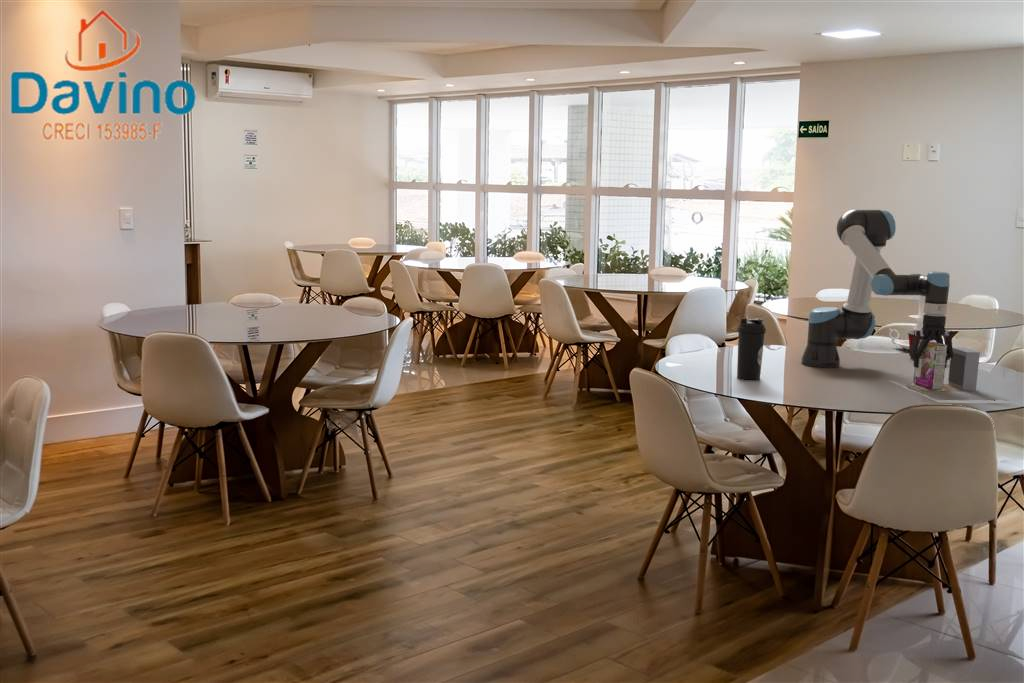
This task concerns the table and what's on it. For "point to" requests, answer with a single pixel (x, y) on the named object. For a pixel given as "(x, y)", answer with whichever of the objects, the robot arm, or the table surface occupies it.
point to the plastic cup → (911, 336)
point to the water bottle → (750, 349)
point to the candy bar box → (932, 366)
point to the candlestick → (918, 326)
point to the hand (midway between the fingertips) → (929, 376)
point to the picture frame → (945, 388)
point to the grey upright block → (964, 369)
